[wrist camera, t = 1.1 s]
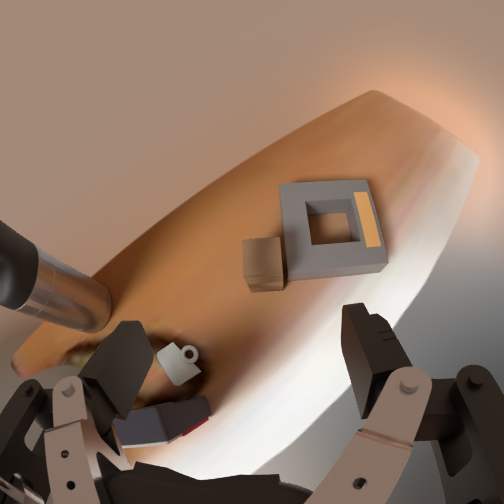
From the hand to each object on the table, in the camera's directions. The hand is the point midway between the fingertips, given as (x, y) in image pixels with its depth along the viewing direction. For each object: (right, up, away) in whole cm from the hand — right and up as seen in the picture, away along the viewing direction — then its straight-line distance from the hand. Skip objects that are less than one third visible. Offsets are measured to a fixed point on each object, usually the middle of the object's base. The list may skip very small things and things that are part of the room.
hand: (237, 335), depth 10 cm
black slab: (-11, -20, +23) cm, 32 cm away
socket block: (+12, +6, +31) cm, 34 cm away
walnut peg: (+3, 0, +29) cm, 29 cm away
